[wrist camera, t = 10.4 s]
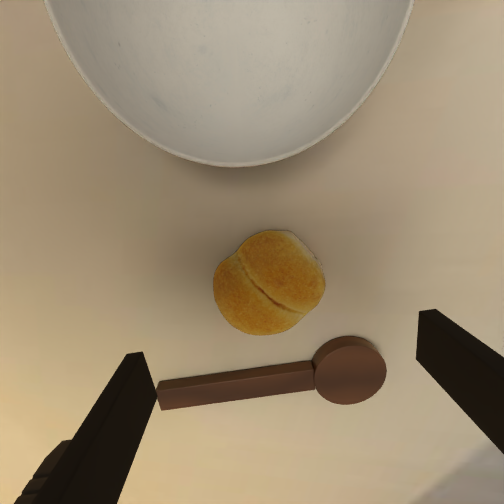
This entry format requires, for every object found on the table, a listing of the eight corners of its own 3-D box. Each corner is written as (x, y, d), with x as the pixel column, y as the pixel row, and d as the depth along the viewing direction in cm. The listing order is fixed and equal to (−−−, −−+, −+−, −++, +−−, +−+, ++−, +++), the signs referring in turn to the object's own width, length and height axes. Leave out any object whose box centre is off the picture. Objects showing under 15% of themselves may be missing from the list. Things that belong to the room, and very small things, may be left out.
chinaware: (387, -32, 16) (509, -210, 9) (297, 197, 20) (328, 210, 13) (151, -150, 14) (48, -506, 7) (105, 128, 18) (9, 96, 11)
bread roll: (197, 282, 22) (187, 305, 18) (273, 210, 20) (280, 218, 16) (262, 340, 24) (265, 372, 20) (337, 279, 22) (356, 300, 18)
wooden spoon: (153, 363, 24) (147, 374, 23) (379, 331, 24) (387, 340, 22) (170, 416, 26) (166, 429, 25) (379, 388, 26) (386, 399, 24)
